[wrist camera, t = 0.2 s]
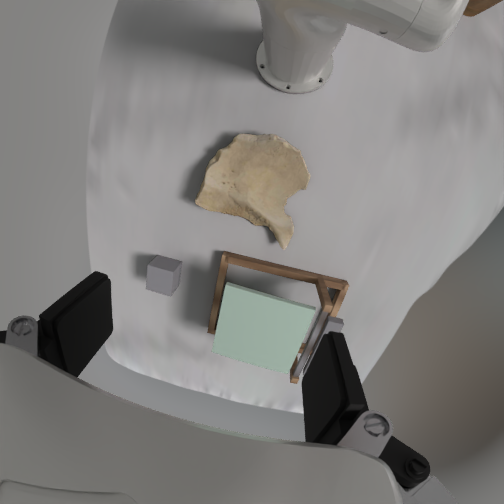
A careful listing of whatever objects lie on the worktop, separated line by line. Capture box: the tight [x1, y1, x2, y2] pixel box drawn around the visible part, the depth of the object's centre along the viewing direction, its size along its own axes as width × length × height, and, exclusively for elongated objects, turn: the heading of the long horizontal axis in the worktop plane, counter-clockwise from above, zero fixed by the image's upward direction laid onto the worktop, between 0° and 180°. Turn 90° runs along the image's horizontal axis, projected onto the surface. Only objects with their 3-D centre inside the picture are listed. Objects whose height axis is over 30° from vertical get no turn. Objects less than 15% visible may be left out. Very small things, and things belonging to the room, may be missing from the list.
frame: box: [207, 251, 349, 384], centre depth 47 cm, size 17×23×11 cm
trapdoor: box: [212, 282, 344, 375], centre depth 43 cm, size 14×19×2 cm
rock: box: [195, 134, 310, 250], centre depth 42 cm, size 18×15×4 cm
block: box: [146, 255, 182, 296], centre depth 49 cm, size 5×5×5 cm
